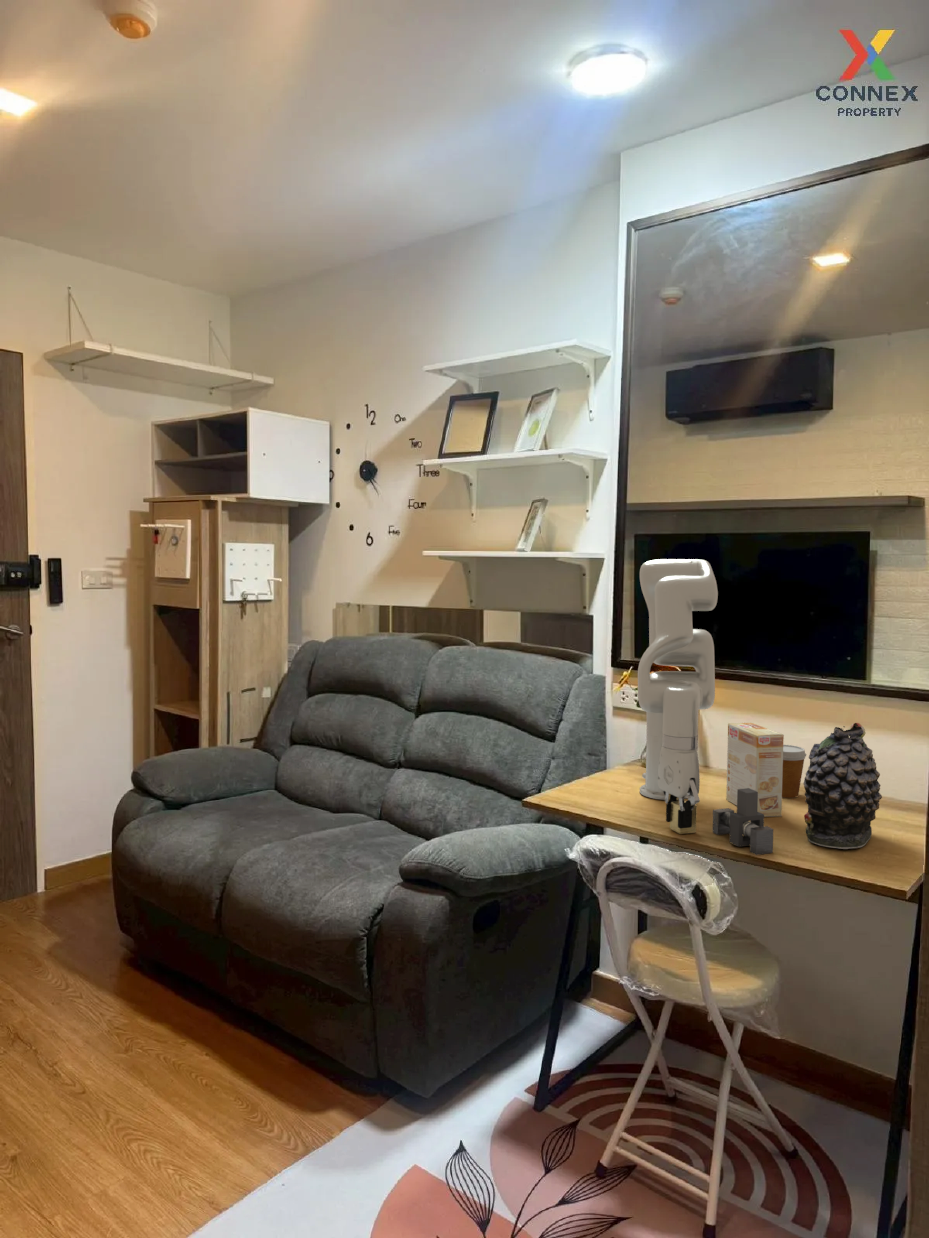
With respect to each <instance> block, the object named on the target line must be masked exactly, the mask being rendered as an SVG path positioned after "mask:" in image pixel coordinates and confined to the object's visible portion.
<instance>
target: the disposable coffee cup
mask: <svg viewBox="0 0 929 1238" xmlns="http://www.w3.org/2000/svg"><path fill="white" fill-rule="evenodd" d="M806 757H807V753H806V751H805V748H803V747H801V746H798V745H792V744H791V745H790V744H783V776H782V798H785V799H792V798H793V799H794V798H797V797H799V794H800V788H801V782H802V777H803V776H802V775H803V770H804V769H803V768H804V762H805V759H806Z"/></svg>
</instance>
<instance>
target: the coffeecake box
mask: <svg viewBox="0 0 929 1238" xmlns="http://www.w3.org/2000/svg"><path fill="white" fill-rule="evenodd" d="M784 736H785V735H784V734H783V733H780V732H777V731H776V730H772V729H770V728H768V727H764V726H762V725H760V724H757V723H754V722H731V723H729V722H727V755H726V756H727V759H726V760H727V761H726V796H725V797H726V798H725V799H726V801H727V802H729V803H732V804H733V805H735V806H736V807H737V791H738V789H745V788H750V789H752V790H755V791H757V792H758V807H757V812H759V813H762V814H764V818H767V817H768V818H771V817H773V818H774V817H783V815H782V809H783V808H782V807H783V797H782V776H783V745H784V739H785V738H784Z"/></svg>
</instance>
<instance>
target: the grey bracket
mask: <svg viewBox="0 0 929 1238" xmlns="http://www.w3.org/2000/svg"><path fill="white" fill-rule="evenodd" d="M757 807H758V792H757V791H755V790H752V789H750V788H745V789H738V791H737V806H736V812H734V813H730V834H729V843H730V844H733V845H734V846H736V847H737V848H738V847H739V848H740V847H746V846H750V838H747V837H745V836H744V835H743V822H745V821H750V822H753V823H755V824H756V825H757V826H760V827H763V826H765V817H764V814H762V813H759V812H757Z"/></svg>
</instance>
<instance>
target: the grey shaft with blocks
mask: <svg viewBox="0 0 929 1238" xmlns="http://www.w3.org/2000/svg"><path fill="white" fill-rule="evenodd" d="M730 813H735V810H733V809H731V808H729V807H728V808H717V809H713V810H712V833H713V834H715V835H717V836H718V835H719V836H720V835H730ZM743 836H745V837H747V838H750V845H749V852H750V853H752V854H753V855H755V856H758V855H765V854H766V855H768V854H773V853H774V851H773V850H774V849H773V847H774V828H772V827H770V826H768V825H766V826H765V825H764V826H763V827H760V826H757V825H756V824H755V823H753V822H751V821H745V822H743Z"/></svg>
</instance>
